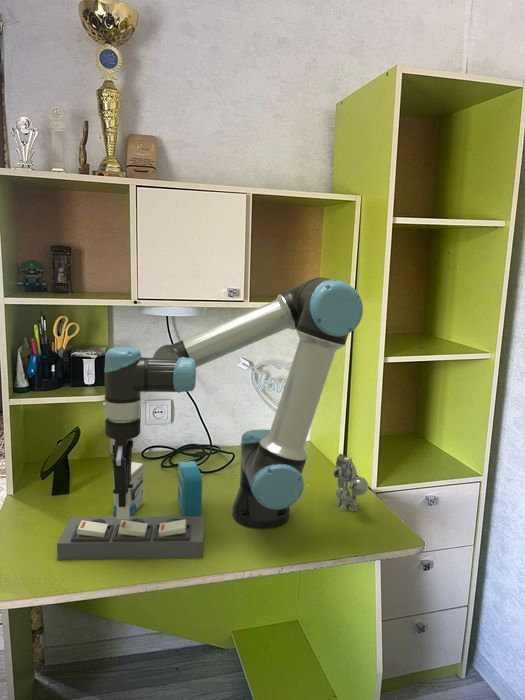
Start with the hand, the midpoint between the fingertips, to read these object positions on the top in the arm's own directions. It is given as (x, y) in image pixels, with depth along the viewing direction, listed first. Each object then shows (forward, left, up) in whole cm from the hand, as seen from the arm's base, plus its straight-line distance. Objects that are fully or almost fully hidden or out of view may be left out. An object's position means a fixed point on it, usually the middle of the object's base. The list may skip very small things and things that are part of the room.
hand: (123, 517), depth 125 cm
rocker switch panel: (-2, -3, -8) cm, 9 cm away
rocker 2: (-11, 0, -3) cm, 12 cm away
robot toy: (-58, -20, -9) cm, 62 cm away
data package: (-14, -20, -9) cm, 26 cm away
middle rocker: (-2, 0, -3) cm, 3 cm away
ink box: (+2, -21, -9) cm, 22 cm away
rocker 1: (+7, 0, -3) cm, 7 cm away
